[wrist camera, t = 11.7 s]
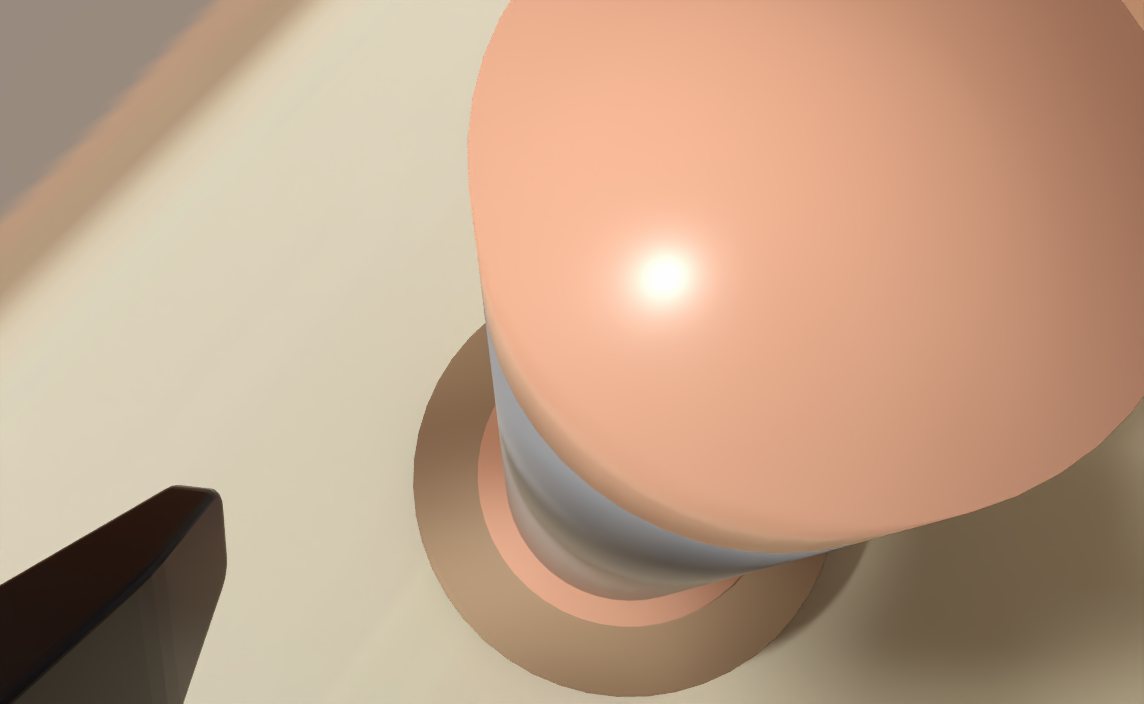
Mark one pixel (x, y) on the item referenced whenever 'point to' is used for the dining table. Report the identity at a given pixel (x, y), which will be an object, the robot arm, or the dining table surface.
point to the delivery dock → (548, 604)
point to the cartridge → (799, 269)
